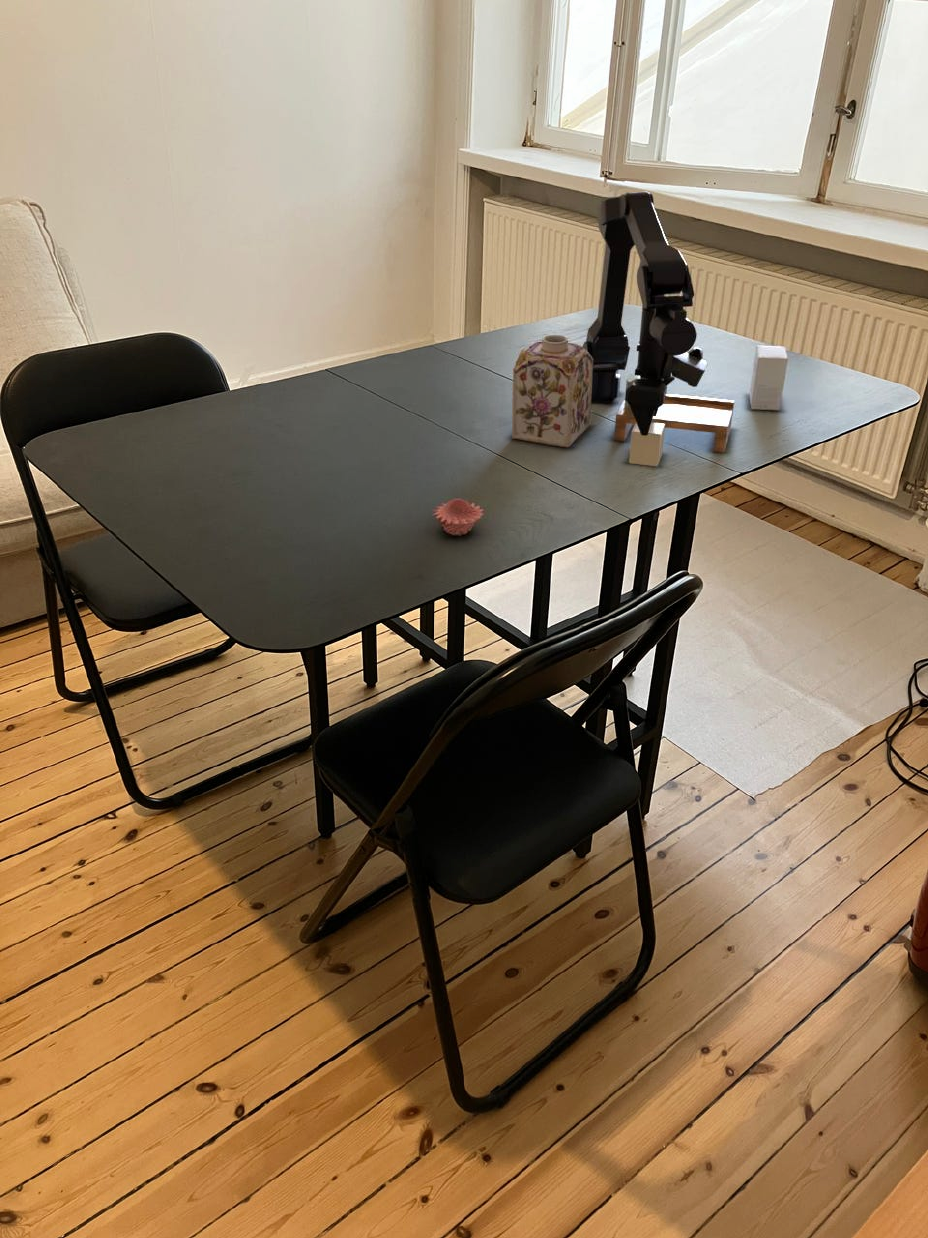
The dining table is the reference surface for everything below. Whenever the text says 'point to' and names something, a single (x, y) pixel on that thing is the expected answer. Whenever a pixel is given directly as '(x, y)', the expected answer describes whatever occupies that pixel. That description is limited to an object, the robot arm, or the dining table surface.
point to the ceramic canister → (627, 386)
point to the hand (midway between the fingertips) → (648, 425)
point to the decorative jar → (552, 392)
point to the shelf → (685, 417)
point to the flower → (458, 516)
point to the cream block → (647, 445)
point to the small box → (768, 377)
